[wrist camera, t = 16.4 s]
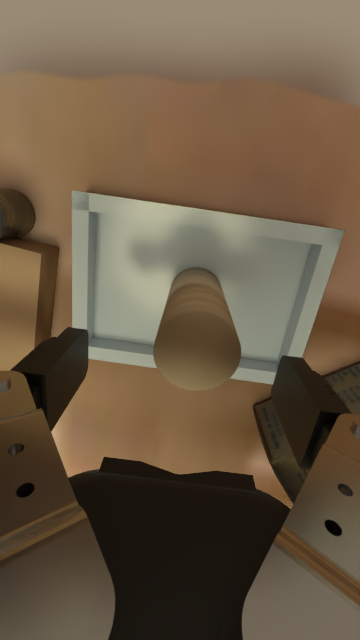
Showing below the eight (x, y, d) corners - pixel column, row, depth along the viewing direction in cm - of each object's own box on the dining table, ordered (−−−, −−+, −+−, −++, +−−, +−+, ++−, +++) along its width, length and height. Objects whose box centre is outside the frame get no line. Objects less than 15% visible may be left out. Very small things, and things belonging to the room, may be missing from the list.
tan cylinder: (216, 320, 21) (231, 396, 13) (167, 313, 21) (148, 384, 13) (226, 271, 20) (250, 319, 11) (173, 263, 20) (158, 306, 11)
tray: (282, 368, 23) (292, 387, 21) (84, 341, 23) (72, 356, 21) (326, 227, 19) (344, 230, 17) (86, 191, 19) (71, 190, 17)
